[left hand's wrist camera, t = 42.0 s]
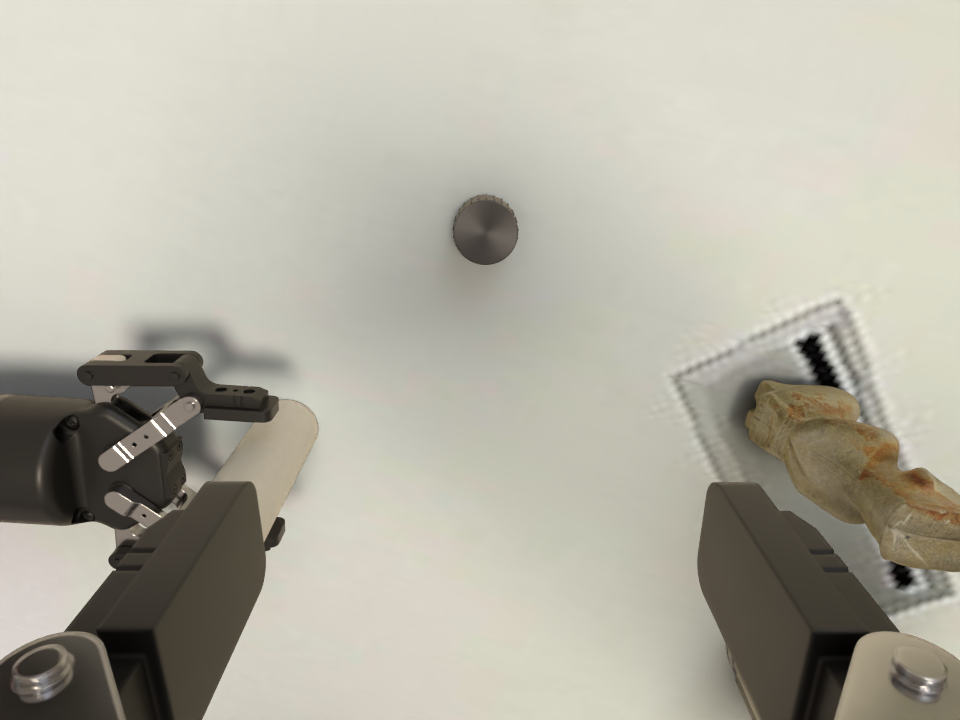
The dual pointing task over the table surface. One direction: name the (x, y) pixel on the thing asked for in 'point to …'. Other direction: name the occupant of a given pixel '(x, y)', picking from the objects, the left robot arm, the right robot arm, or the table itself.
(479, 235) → the cap
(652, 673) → the table surface
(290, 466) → the bottle
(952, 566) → the sculpture
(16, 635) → the table surface
